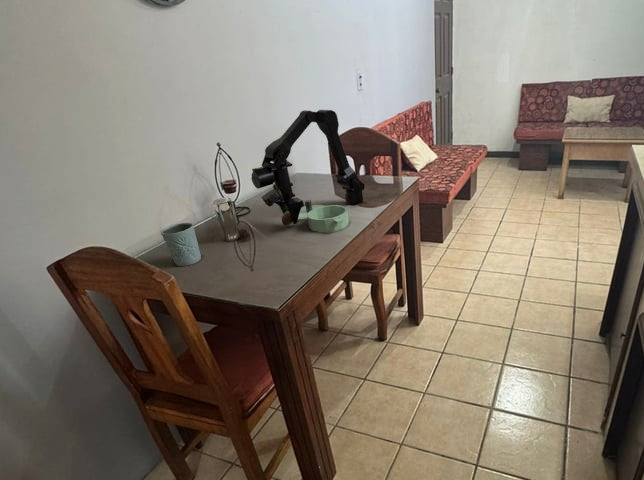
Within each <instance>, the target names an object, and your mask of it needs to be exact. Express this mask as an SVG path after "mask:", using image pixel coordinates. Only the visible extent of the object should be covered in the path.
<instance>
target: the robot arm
mask: <svg viewBox="0 0 644 480" xmlns="http://www.w3.org/2000/svg"><path fill="white" fill-rule="evenodd" d="M312 123H315V124H316V125H317V127H318V129H319V130H320V131H321V132H322V133H323V134H324V136H325V138H326V140H327V142H328V146H329V149H330V151H331V153H332V157H333V159H334V162H335V164H336V167H337V173H335V174H334V177H335V178H336V182H337V184H339V186H341V188H342V189H343V190H345V194H344V195H345V196H344V197H345V204H346V205H349V206H351V207H355V206H357V205H361V204H365V203H366V201H365V200H364V197H363V191H364V190H365V183H364V182H362V181H361V180H360V179H359V176H358V174H357V173H356V171H355V170H354V169H353V168H352V167H351V165H350V163H349V159H348V157H347V154H346V151H345V148H344V145H343V142H342V140H341V137H340V135H339V125H340V123H339V119H338V114H337V112H336V111H334V110H332V109H319V110H317V111H312V110H302V111H300V112H299V115H298V116H297V117H296V119H294V121H293V122H292V123H291V124H290V126H289V127H288V128H287V129H286V130H285V132H283V134H282V135H281V136H280V137H279V138H277V139H275V140H273V141H272V142H270V144H268V145H267V146H266V147H265V150H264V157H263V160H262V163H261V166H260V167H254V168H251V171H252V173H251V178H250V179H251V182H252V184H253V186H254V187H255V188H256V189H257V190H259V189H262V188H266V187H269V186H272V188H273V189H271V190H269V191H268V192H266V193H265V194H263V195H262V196H261V200H262V202H264V204H265V205H266V206H267V207H269V208H270V207H272V206H273V205H274V204H275V205H278V207H279V208H280V210H281V213H282V215H283V214H284V213H285V212H286V211H288V212H289V213H290V216H291V218H292V221H293V223H294V224H293V223H292V224H293V225H297V224H298V223H297V221H298V217H299V213H300V210H301V208H302V207H304V206H305V202H304V200H302V199H301V198H299V197H296V194H295V193H294V192H293V188H292V187H293V186H294V184H293V182H292V181H291V177H290V173H289V167H290V168H291V167H292V166H293V163H292V162H289V161H288V158H289V156H290V154H291V151H292V148H293V146H294V144H295V143H296V142H297V141H298V139H299V138H300V137H301V136H302V134H304V132H305V131H306V129H307V128H308V127H309V126H310V125H311V124H312Z"/></svg>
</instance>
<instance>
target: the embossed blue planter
mask: <svg viewBox="0 0 644 480" xmlns="http://www.w3.org/2000/svg"><path fill="white" fill-rule="evenodd" d="M195 231H196V230H195V227H194V224H193V223H192V222H180V223H175V224H171V225H169V226H166V227H164V228H163V229H161V231H160V235H161V236H162V238H163V240H164V242H165V244H166V246H167V249H168V251H169V253H170V256H171V257H172V259H173V262H174V264H175V265H176V266H178V267H186V266H187V267H188V266H191V265H194V264H196V263H198V262H199V261H201V260H202V256H201V255H202V254H201V251H200V247H199V243H198V238H197V235H196V232H195Z"/></svg>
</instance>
